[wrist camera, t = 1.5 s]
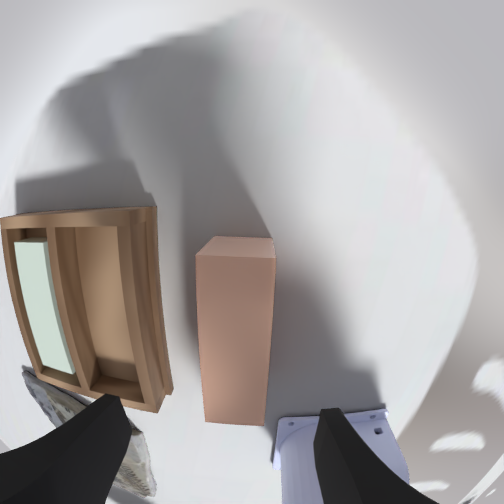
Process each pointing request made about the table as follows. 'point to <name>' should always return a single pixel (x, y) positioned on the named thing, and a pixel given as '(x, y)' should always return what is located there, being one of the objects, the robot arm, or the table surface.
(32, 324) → the glazed tile
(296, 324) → the table surface
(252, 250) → the clay bar
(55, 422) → the fossil rock
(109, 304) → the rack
